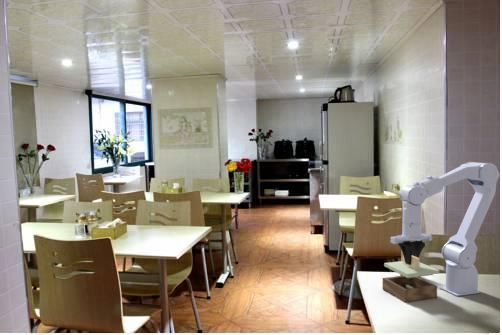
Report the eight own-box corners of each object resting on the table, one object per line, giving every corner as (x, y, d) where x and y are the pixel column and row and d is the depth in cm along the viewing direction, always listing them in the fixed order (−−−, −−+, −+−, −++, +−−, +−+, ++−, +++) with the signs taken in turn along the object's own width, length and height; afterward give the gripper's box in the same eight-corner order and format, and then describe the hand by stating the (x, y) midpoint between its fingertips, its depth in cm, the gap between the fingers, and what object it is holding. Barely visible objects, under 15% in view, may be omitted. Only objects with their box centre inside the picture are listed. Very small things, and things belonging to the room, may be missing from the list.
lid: (414, 265, 142) (414, 249, 142) (439, 275, 130) (439, 259, 130) (384, 268, 139) (384, 252, 138) (407, 279, 127) (407, 263, 127)
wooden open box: (412, 285, 143) (412, 274, 143) (436, 298, 132) (437, 285, 131) (382, 289, 140) (382, 278, 139) (405, 302, 128) (405, 290, 128)
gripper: (400, 226, 127) (399, 269, 128) (439, 223, 132) (438, 264, 132) (386, 222, 134) (386, 262, 135) (424, 219, 138) (423, 259, 139)
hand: (411, 263), depth 134 cm, fingers closed on lid
